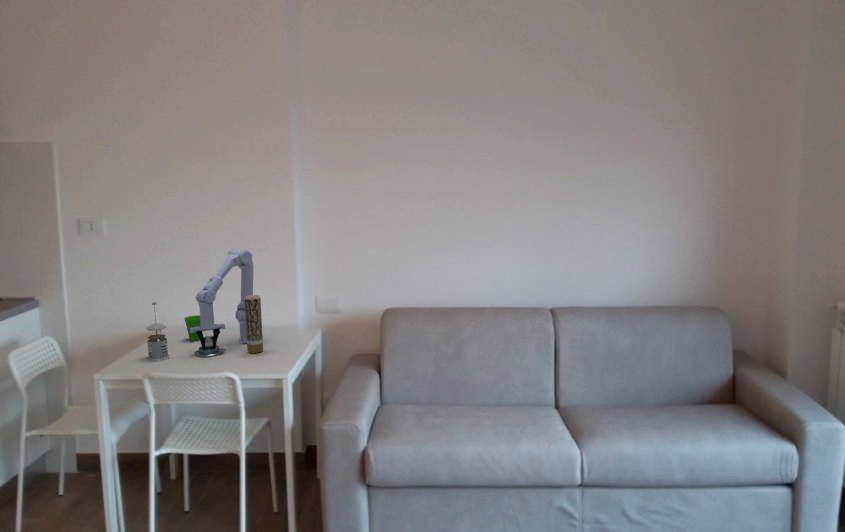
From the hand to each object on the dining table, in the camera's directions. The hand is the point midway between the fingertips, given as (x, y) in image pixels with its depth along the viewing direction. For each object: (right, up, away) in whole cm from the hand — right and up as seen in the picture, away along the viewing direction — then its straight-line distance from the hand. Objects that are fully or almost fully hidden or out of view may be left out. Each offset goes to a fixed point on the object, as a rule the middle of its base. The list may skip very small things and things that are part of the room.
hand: (209, 346), depth 283 cm
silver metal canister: (0, -2, +1) cm, 2 cm away
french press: (-20, -4, -5) cm, 21 cm away
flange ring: (0, -3, 0) cm, 3 cm away
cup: (-14, 0, +23) cm, 27 cm away
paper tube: (+20, -3, +2) cm, 20 cm away
